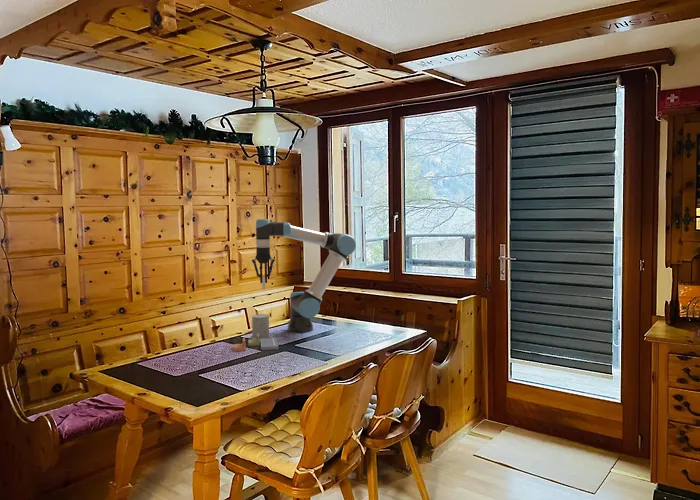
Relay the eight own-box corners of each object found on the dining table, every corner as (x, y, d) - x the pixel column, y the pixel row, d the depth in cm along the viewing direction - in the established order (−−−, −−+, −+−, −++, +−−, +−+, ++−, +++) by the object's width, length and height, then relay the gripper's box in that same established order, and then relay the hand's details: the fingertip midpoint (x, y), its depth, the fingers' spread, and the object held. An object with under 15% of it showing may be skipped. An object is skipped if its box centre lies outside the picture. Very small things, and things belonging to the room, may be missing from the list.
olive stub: (259, 341, 298) (259, 333, 298) (259, 345, 290) (259, 336, 290) (248, 342, 297) (248, 333, 297) (248, 345, 289) (248, 337, 289)
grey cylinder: (271, 335, 313) (270, 314, 312) (266, 339, 303) (266, 317, 302) (254, 334, 314) (254, 314, 313) (250, 339, 304) (249, 317, 303)
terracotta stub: (245, 346, 288) (245, 337, 288) (245, 350, 280) (245, 341, 280) (234, 347, 287) (233, 338, 286) (233, 351, 279) (233, 341, 279)
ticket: (276, 340, 300) (276, 337, 300) (278, 349, 283) (278, 345, 283) (260, 341, 299) (260, 338, 299) (261, 350, 281) (261, 346, 281)
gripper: (274, 246, 306) (275, 287, 308) (251, 246, 303) (251, 288, 305) (275, 247, 298) (275, 289, 300) (251, 247, 296) (252, 290, 298)
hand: (263, 288), depth 303 cm, fingers closed
